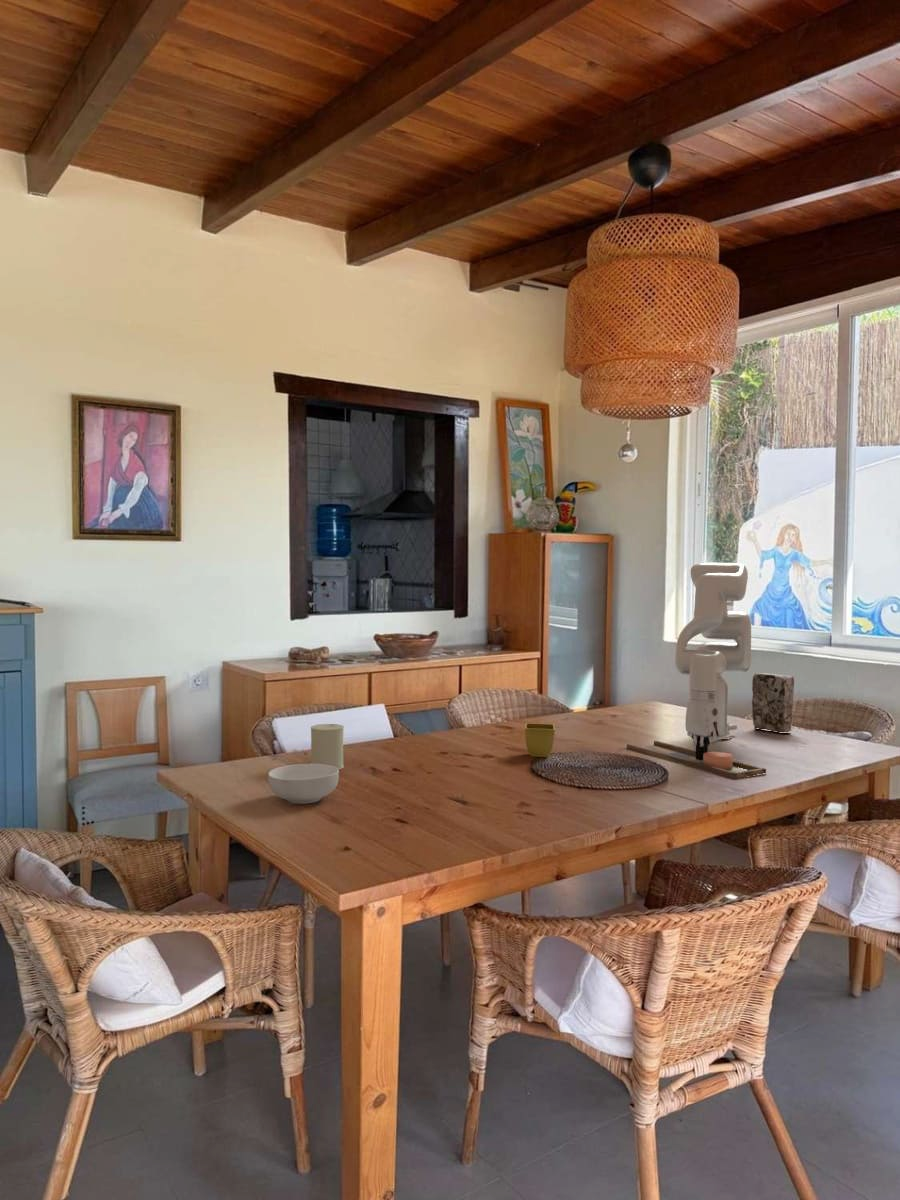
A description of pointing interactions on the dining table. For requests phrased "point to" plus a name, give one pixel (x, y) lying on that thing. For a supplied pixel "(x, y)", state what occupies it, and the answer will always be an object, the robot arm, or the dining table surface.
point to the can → (327, 745)
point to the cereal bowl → (303, 782)
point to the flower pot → (539, 739)
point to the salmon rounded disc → (718, 760)
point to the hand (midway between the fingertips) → (701, 759)
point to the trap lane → (694, 759)
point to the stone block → (772, 701)
